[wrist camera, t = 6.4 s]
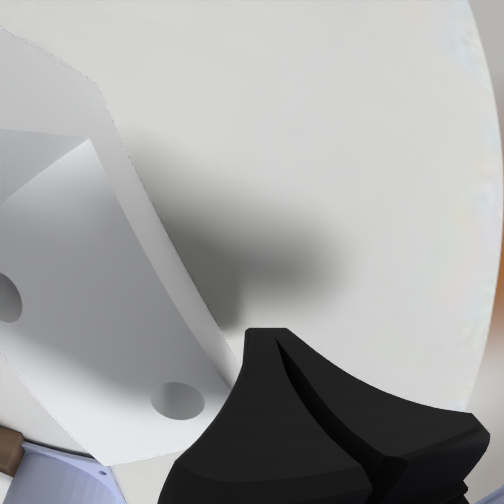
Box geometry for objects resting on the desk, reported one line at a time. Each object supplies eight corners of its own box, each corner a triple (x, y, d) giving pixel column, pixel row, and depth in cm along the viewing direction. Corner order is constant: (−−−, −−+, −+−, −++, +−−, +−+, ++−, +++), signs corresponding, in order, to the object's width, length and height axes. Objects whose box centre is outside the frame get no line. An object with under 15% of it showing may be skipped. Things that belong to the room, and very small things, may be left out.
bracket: (-24, 181, 9) (-153, 216, 2) (100, 85, 9) (-28, 12, 2) (118, 414, 13) (89, 540, 6) (245, 369, 13) (276, 521, 6)
